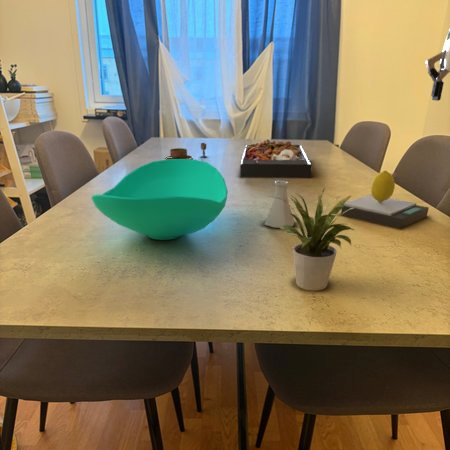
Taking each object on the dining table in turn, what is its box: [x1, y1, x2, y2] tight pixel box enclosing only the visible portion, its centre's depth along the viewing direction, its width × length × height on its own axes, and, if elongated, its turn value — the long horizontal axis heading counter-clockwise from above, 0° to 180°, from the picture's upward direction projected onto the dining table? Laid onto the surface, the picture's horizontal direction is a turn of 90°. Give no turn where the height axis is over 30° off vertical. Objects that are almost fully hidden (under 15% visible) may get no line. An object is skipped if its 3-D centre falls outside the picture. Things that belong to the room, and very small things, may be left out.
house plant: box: [269, 187, 357, 292], centre depth 70 cm, size 14×14×16 cm
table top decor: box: [91, 159, 229, 241], centre depth 94 cm, size 40×28×13 cm
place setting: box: [164, 142, 208, 160], centre depth 181 cm, size 18×20×6 cm
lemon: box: [370, 170, 396, 203], centre depth 107 cm, size 6×6×8 cm
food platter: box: [239, 139, 313, 179], centre depth 169 cm, size 45×25×10 cm, turn 175°
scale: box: [340, 193, 429, 230], centre depth 108 cm, size 16×14×3 cm
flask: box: [263, 180, 295, 229], centre depth 101 cm, size 7×7×10 cm
